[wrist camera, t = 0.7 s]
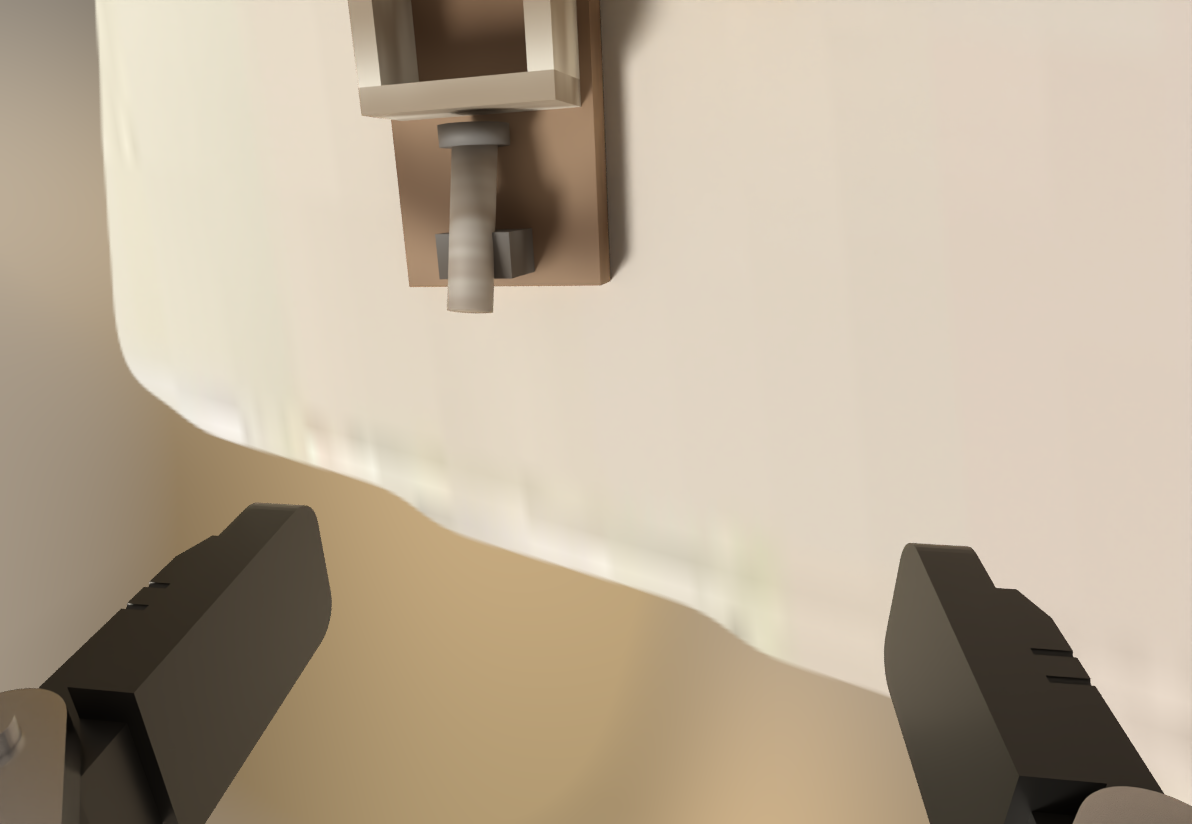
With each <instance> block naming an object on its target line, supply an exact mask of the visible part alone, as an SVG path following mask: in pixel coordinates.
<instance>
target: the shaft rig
mask: <svg viewBox="0 0 1192 824" xmlns="http://www.w3.org/2000/svg"><path fill="white" fill-rule="evenodd" d="M348 6H349V14H350V22H351V31H352V39H353V47H354V56H355V64H356V73H357V81H358V89H359V98H360V106H361V114H362V116H369V117H376V118H383V119H391V123H392V132H393V141H394V150H395V159H396V168H397V177H398V186H399V195H400V205H401V214H402V223H403V232H404V241H405V250H406V259H407V268H408V277H409V286H410V287H448V299H447V310H448V311H453V312H462V313H492V312H493V293H494V286H581V285H602V284H605V283H607V282H609V281H610V260H609V234H608V207H607V181H606V154H605V128H604V101H603V75H602V48H601V22H600V0H348Z"/></svg>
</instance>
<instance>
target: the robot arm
mask: <svg viewBox="0 0 1192 824" xmlns="http://www.w3.org/2000/svg"><path fill="white" fill-rule="evenodd" d="M149 584H150V585H149V587H144V588H143V589H141V591H139V592H138V593H137V594H136V595H135V596H134V597H133V598H132V599H131V600H130V601H129V602H128V603H127V608H126V609H121V610H120V611H118V612H117V613H116V614H115V615H114V616H113V617H112V618H111V619H110V620H109V621H108V622H107V623H106V624H105V625H104V626H103V627H102V628H101V629H100V630H99V631H98V632H97V633H95V634H94V635H93V636H92V637H91V638H90V639H89V640H88V641H87V642H86V643H85V644H84V645H83V646H82V647H81V648H80V649H79V650H78V651H77V652H76V653H75V654H74V655H73V656H71V657H70V658H69V659H68V660H67V661H66V662H65V663H64V664H63V665H62V666H61V667H60V668H59V669H58V670H57V671H56V672H55V673H54V674H53V675H52V676H51V677H50V678H48V680H46V681H45V683H43V684H42V685H41V686H40V687H39V688H24V689H15V690H10V691H4V692H1V693H0V824H205V823H206V821H207V819H208V818H209V816H210V815H211V813H212V812H213V810H214V809H215V807H216V805H217V804H218V802H219V801H220V799H221V798H222V796H223V794H224V793H225V791H226V790H227V788H228V787H229V785H230V784H231V782H232V781H233V779H234V777H235V776H236V774H237V773H238V771H239V770H240V768H241V767H242V765H243V763H244V762H245V760H246V759H247V757H248V755H249V754H250V752H251V751H252V749H253V748H254V746H255V745H256V743H257V742H258V740H259V738H260V737H261V735H262V734H263V732H264V731H265V729H266V728H267V726H268V724H269V723H270V721H271V720H272V718H273V716H274V715H275V714H276V712H277V710H278V709H279V707H280V706H281V704H282V703H283V701H284V699H285V698H286V696H287V694H288V693H289V692H290V690H291V689H292V687H293V685H294V684H295V682H296V681H297V679H298V678H299V676H300V675H301V673H302V671H303V670H304V668H305V667H306V665H307V664H308V662H309V660H310V659H311V657H312V656H313V654H314V653H315V651H316V650H317V648H318V646H319V645H320V643H321V642H322V640H323V638H324V636H325V634H326V631H327V628H328V624H329V621H330V616H331V605H332V604H331V603H332V600H331V591H330V586H329V581H328V575H327V569H326V564H325V558H324V553H323V548H322V542H321V537H320V531H319V526H318V521H317V517H316V515H315V513H314V511H313V510H312V509H311V508H310V507H309V506H304V505H287V504H271V503H270V504H269V503H253V504H251V505H249V506H248V507H247V508H246V509H245V510H244V511H243V512H242V513H241V514H240V515H239V516H238V517H237V518H236V519H235V520H234V521H233V522H232V523H231V524H230V525H229V526H228V527H227V528H226V529H225V530H224V531H223V532H222V533H221V534H220V535H219V536H211V537H209V538H208V539H206V540H204V541H202V542H201V543H199V544H197V545H195V546H194V547H192V548H190V549H189V550H186V551H185V552H183V553H181V554H179V555H178V556H176V557H175V558H174V559H173V560H172V561H171V562H170V563H169V564H168V565H167V566H165V567H164V568H163V569H162V570H161V571H160V572H159V573H158V574H157V575H156V576H155V577H154V578H153V579H152V580H151V581H150V582H149ZM884 663H885V674H886V680H887V685H888V689H889V692H890V695H891V699H892V702H893V705H894V708H895V711H896V715H897V718H898V721H899V725H900V728H901V731H902V734H903V738H904V741H905V744H906V747H907V751H908V754H909V757H910V760H911V764H912V767H913V770H914V773H915V777H916V780H917V783H918V786H919V789H920V793H921V796H922V799H923V802H924V806H925V809H926V812H927V815H928V818H929V822H930V824H1192V806H1190V805H1188V804H1186V803H1184V802H1182V801H1180V800H1177V799H1175V798H1173V797H1170V796H1167V795H1165V794H1164V793H1163V791H1162V790H1161V788H1160V787H1159V785H1158V783H1157V782H1156V780H1155V779H1154V777H1153V776H1152V774H1151V772H1150V771H1149V769H1148V768H1147V766H1146V765H1145V763H1144V762H1143V760H1142V758H1141V757H1140V755H1139V754H1138V752H1137V751H1136V749H1135V747H1134V746H1133V744H1132V743H1131V741H1130V740H1129V738H1128V737H1127V735H1126V733H1125V732H1124V730H1123V729H1122V727H1121V726H1120V724H1119V722H1118V721H1117V719H1116V718H1115V716H1114V715H1113V713H1112V712H1111V710H1110V708H1109V707H1108V705H1107V704H1106V702H1105V701H1104V699H1103V697H1102V696H1101V694H1100V693H1099V691H1098V690H1097V688H1096V687H1095V686H1091V683H1090V677H1089V676H1088V674H1087V672H1086V671H1085V669H1084V668H1083V666H1082V665H1081V663H1080V662H1079V660H1078V658H1075V657H1073V651H1072V649H1071V647H1070V646H1069V644H1068V643H1067V641H1066V640H1065V638H1064V637H1063V635H1062V633H1061V632H1060V630H1059V629H1058V627H1057V626H1056V624H1055V622H1054V621H1053V619H1052V618H1051V617H1050V616H1048V615H1047V614H1046V613H1045V612H1044V611H1042V610H1041V609H1040V608H1039V607H1037V606H1036V605H1035V604H1034V603H1032V602H1031V601H1030V600H1029V599H1028V598H1026V597H1025V596H1024V595H1023V594H1021V593H1020V592H1019V591H1018V590H1016V589H1002V588H996V587H995V586H994V584H993V582H992V580H991V579H990V577H989V575H988V573H987V572H986V570H985V568H984V566H983V565H982V563H981V561H980V559H979V558H978V556H977V554H976V553H975V551H974V550H973V549H972V548H971V547H967V546H950V545H933V544H917V543H908V544H907V545H906V546H905V547H904V549H903V552H902V555H901V559H900V564H899V569H898V574H897V579H896V584H895V590H894V595H893V600H892V605H891V610H890V616H889V621H888V626H887V631H886V637H885V646H884Z"/></svg>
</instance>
